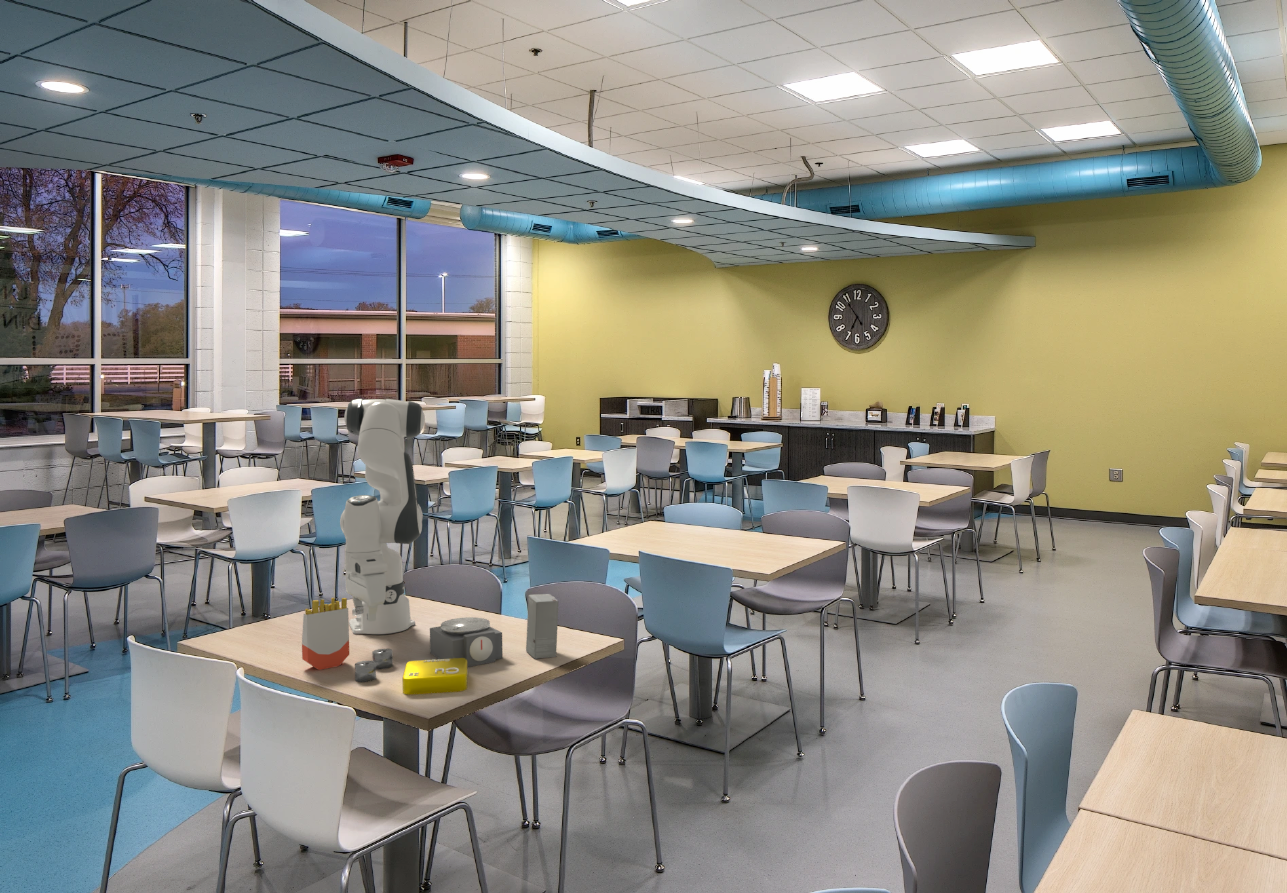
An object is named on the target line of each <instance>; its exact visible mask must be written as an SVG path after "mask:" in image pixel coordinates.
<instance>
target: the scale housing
mask: <svg viewBox="0 0 1287 893" xmlns="http://www.w3.org/2000/svg"><path fill="white" fill-rule="evenodd" d="M429 652H430V653H429V654H431V655H433V656H434V657H435V658H437V659H453V658H465V659H466V660H467V668H470V667H475V666H480V665H485V664H490V663H491V664H492V663H495V662H496V660H499V659H503V654H504V653H503V632H502V631H501V630H498V629H496V628H494V627H491V626H490V628H489V629H487V630H485V631H481V632H477V633H470V634H451V633H446V632H443V631H442V630H441V625H440V626H434V627H430V628H429Z"/></svg>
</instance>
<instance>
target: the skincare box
mask: <svg viewBox="0 0 1287 893" xmlns="http://www.w3.org/2000/svg"><path fill="white" fill-rule="evenodd" d="M527 596H528V602H527V621H526V622H527V623H526V624H527V626H526V642H525V643H526V644H525V651H526V652H527V653H528V655H530V656H531V657H532V658H534V659H535V660H536V659H537V660H538V659H546V658H554V657H555V658H556V657H557V649H558V648H557V646H558V645H557V644H558V643H557V641H558V624H559V623H558V620H559V619H558V618H559V600H558V599H556V597H555V596H553V595H552V594H551V593H542V594H540V593H539V594H538V593H537V594H536V593H535V594H529V595H527Z"/></svg>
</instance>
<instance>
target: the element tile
mask: <svg viewBox="0 0 1287 893" xmlns="http://www.w3.org/2000/svg"><path fill="white" fill-rule="evenodd" d="M403 671H404V672H403V675H402V683H401V684H402V694H403V695H407V696H410V695H411V696H413V695H415V696H416V695H426V694H428V695H430V694H440V693H441V694H443V693H457V692H464V691H466V690H467V689H468V667H467V660H466V659H465V658H453V659H439V658H437V659H423V660H422V659H421V660H418V659H417V660H409V661H407V663H406V664H405V667H404V670H403Z"/></svg>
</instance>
